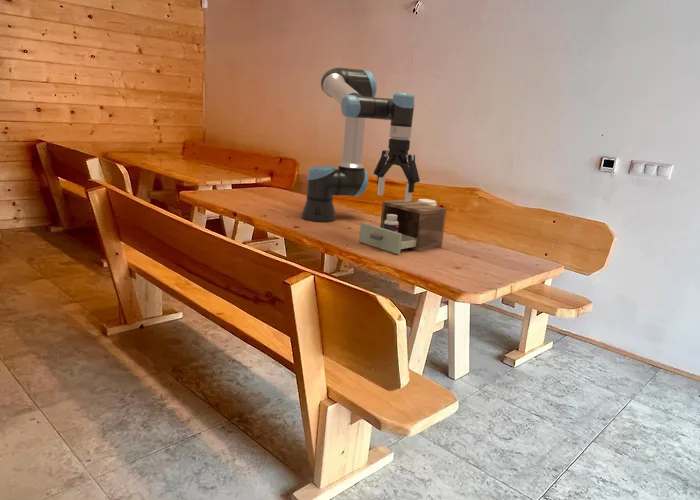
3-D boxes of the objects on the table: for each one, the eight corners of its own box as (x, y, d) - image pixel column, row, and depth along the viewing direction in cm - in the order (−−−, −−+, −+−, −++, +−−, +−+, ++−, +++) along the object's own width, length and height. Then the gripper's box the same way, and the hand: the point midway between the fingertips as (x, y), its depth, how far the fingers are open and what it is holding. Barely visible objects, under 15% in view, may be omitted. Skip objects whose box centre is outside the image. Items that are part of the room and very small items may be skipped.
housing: (379, 239, 205) (382, 201, 201) (402, 235, 215) (406, 199, 211) (418, 251, 191) (422, 211, 187) (441, 246, 201) (446, 208, 197)
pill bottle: (397, 242, 192) (400, 217, 189) (383, 241, 192) (385, 215, 189) (395, 239, 197) (398, 214, 195) (381, 238, 197) (384, 213, 194)
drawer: (354, 242, 196) (356, 223, 194) (384, 237, 207) (385, 219, 205) (392, 255, 182) (394, 235, 180) (422, 249, 193) (424, 230, 191)
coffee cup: (417, 238, 211) (421, 202, 207) (410, 233, 219) (413, 198, 215) (436, 238, 213) (441, 202, 209) (428, 233, 221) (432, 198, 217)
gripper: (367, 135, 191) (362, 192, 196) (420, 142, 173) (413, 205, 179) (381, 135, 196) (376, 191, 201) (434, 142, 179) (427, 203, 184)
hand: (393, 198), depth 190 cm, fingers open, 13 cm apart
